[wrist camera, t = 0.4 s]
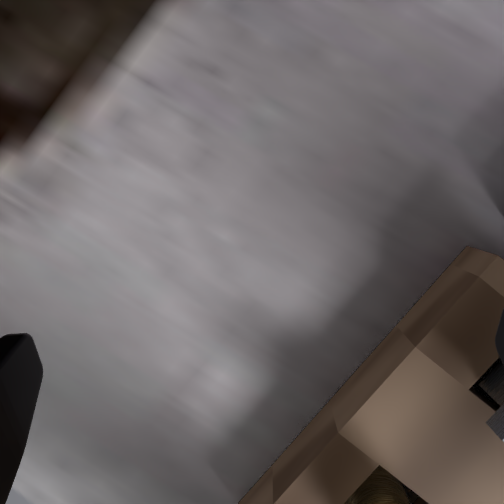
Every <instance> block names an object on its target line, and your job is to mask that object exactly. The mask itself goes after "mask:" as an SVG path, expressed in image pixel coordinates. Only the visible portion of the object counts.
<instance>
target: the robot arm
mask: <svg viewBox="0 0 504 504" xmlns="http://www.w3.org/2000/svg"><path fill="white" fill-rule="evenodd" d="M495 346H496V349H497V352H498V354H499V357H500V359H501V361H502V363H503V366H504V308H503V311H502V314H501V318H500V321H499V325H498V328H497V332H496V336H495ZM42 377H43V367H42V363H41V360H40V358H39V355H38V352H37V349H36V346H35V343H34V341H33V338H32V337H31V335H29V334H27V333H19V334H7V335H5V336H3V337H1V338H0V504H5V503H6V501H7V498H8V495H9V492H10V490H11V487H12V484H13V482H14V479H15V476H16V473H17V471H18V468H19V465H20V462H21V459H22V456H23V453H24V450H25V446H26V443H27V439H28V435H29V431H30V427H31V423H32V419H33V414H34V410H35V406H36V402H37V398H38V394H39V390H40V386H41V382H42Z"/></svg>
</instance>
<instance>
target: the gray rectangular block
mask: <svg viewBox="0 0 504 504" xmlns="http://www.w3.org/2000/svg"><path fill="white" fill-rule="evenodd" d="M478 385H479V386H480V387H481V388H482V389H483V390H484V391H485V392H486V393H488V394H489V395H490V396H491V397H492V398H493V399H494V400H495V401H496V402H497V403H498V404H499V405H500V406H501V407H500V408H499V409H498V410H497V411H496V412H495V413H494V414H493V415H492V416H491V417H490V418H489V419H488V420H487V421H486V422H485V423H486V424H487V425H488V426H489V427H490V428H491V429H492V430H493V431H494V433H495V434H496V435H497V436H498V437H499V438H500V439H501V440H502V441H503V442H504V366H503V363H502V361H500V362H499V363H498V364H497V365H496V366H495V367H494V368H493V369H492V370H491V372H490V373H489V374H488V375H487V376H486V377H485V378H484V379H483V380H482V381H481V382H480V383H479V384H478Z"/></svg>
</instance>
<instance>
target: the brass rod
mask: <svg viewBox="0 0 504 504" xmlns="http://www.w3.org/2000/svg"><path fill="white" fill-rule="evenodd" d="M344 504H410V502H409V499H408V497H407V495H406V492H405V490H404V488H403V486H402V483H401V481H399V480H398V479H397V478H396V477H394V476H393V475H392V474H390V473H389V472H388V471H387V470H385V469H384V468H383V467H381V466H380V465H379V466H378V467H377V468H376V469H375V470H374V471H373V472H372V473H371V475H370V476H369V477H368V478H367V479H366V480H365V481H364V482H363V483H362V484H361V485H360V486H359V487H358V488H357V490H356V491H355V492H354V493H353V494H352V495H351V496H350V497H349V498H348V499H347V500H346V501H345V502H344Z"/></svg>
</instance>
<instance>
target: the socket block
mask: <svg viewBox="0 0 504 504" xmlns="http://www.w3.org/2000/svg"><path fill="white" fill-rule="evenodd" d="M503 308H504V260H503V259H502V258H501V257H499V256H498V255H495V254H492V253H488V252H485V251H482V250H479V249H476V248H472V247H469V246H466V248H465V249H464V250H463V251H462V252H461V253H460V254H459V255H458V257H457V258H456V259H455V260H454V261H453V262H452V263H451V264H450V266H449V267H448V268H447V269H446V270H445V271H444V272H443V273H442V275H441V276H440V277H439V278H438V279H437V280H436V281H435V282H434V284H433V285H432V286H431V287H430V288H429V289H428V290H427V291H426V293H425V294H424V295H423V296H422V297H421V298H420V299H419V300H418V302H417V303H416V304H415V305H414V306H413V307H412V308H411V309H410V311H409V312H408V313H407V314H406V315H405V316H404V317H403V318H402V320H401V321H400V322H399V323H398V324H397V325H396V326H395V327H394V329H393V330H392V331H391V332H390V333H389V334H388V335H387V336H386V338H385V339H384V340H383V341H382V342H381V343H380V344H379V345H378V347H377V348H376V349H375V350H374V351H373V352H372V353H371V354H370V356H369V357H368V358H367V359H366V360H365V361H364V362H363V363H362V365H361V366H360V367H359V368H358V369H357V370H356V371H355V372H354V374H353V375H352V376H351V377H350V378H349V379H348V380H347V381H346V383H345V384H344V385H343V386H342V387H341V388H340V389H339V390H338V391H337V393H336V394H335V395H334V396H333V397H332V398H331V399H330V400H329V402H328V403H327V404H326V405H325V406H324V407H323V408H322V409H321V411H320V412H319V413H318V414H317V415H316V416H315V417H314V418H313V420H312V421H311V422H310V423H309V424H308V425H307V426H306V427H305V429H304V430H303V431H302V432H301V433H300V434H299V435H298V436H297V438H296V439H295V440H294V441H293V442H292V443H291V444H290V445H289V447H288V448H287V449H286V450H285V451H284V452H283V453H282V454H281V456H280V457H279V458H278V459H277V460H276V461H275V462H274V463H273V465H272V466H271V467H270V468H269V469H268V470H267V471H266V472H265V474H264V475H263V476H262V477H261V478H260V479H259V480H258V481H257V483H256V484H255V485H254V486H253V487H252V488H251V489H250V490H249V492H248V493H247V494H246V495H245V496H244V497H243V498H242V499H241V501H240V502H239V503H238V504H344V502H345V501H346V500H347V499H348V498H349V497H350V496H351V495H352V494H353V493H354V492H355V491H356V490H357V488H358V487H359V486H360V485H361V484H362V483H363V482H364V481H365V480H366V479H367V478H368V477H369V476H370V475H371V473H372V472H373V471H374V470H375V469H376V468H377V467H378V466H379V465H380V466H381V467H383V468H384V469H385V470H387V471H388V472H389V473H390V474H392V475H393V476H394V477H396V478H397V479H398V480H399V481H401V482H402V483H403V484H405V485H406V486H407V487H408V488H410V489H411V490H412V491H414V492H415V493H416V494H417V495H419V498H418V499H417V500H416V501H415V502H414V503H413V504H504V442H503V441H502V440H501V439H500V438H499V437H498V436H497V435H496V434H495V433H494V431H493V430H492V429H491V428H490V427H489V426H488V425H487V424H486V423H485V422H486V421H487V420H488V419H489V418H490V417H491V416H492V415H493V414H494V413H495V412H496V411H497V410H498V409H499V408H500V407H501V406H500V405H499V404H498V403H497V402H496V401H494V402H493V403H492V402H490V401H489V400H488V399H487V398H486V397H484V396H483V395H482V394H481V393H479V392H478V391H477V390H476V389H474V388H473V387H472V386H473V385H474V384H475V382H476V381H477V380H478V379H479V378H480V377H481V376H482V375H483V374H484V373H485V372H486V371H487V370H488V369H489V368H490V366H491V365H492V364H493V363H494V362H495V361H496V360H497V359H498V358H499V354H498V352H497V349H496V346H495V336H496V332H497V328H498V325H499V321H500V318H501V314H502V311H503Z"/></svg>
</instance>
